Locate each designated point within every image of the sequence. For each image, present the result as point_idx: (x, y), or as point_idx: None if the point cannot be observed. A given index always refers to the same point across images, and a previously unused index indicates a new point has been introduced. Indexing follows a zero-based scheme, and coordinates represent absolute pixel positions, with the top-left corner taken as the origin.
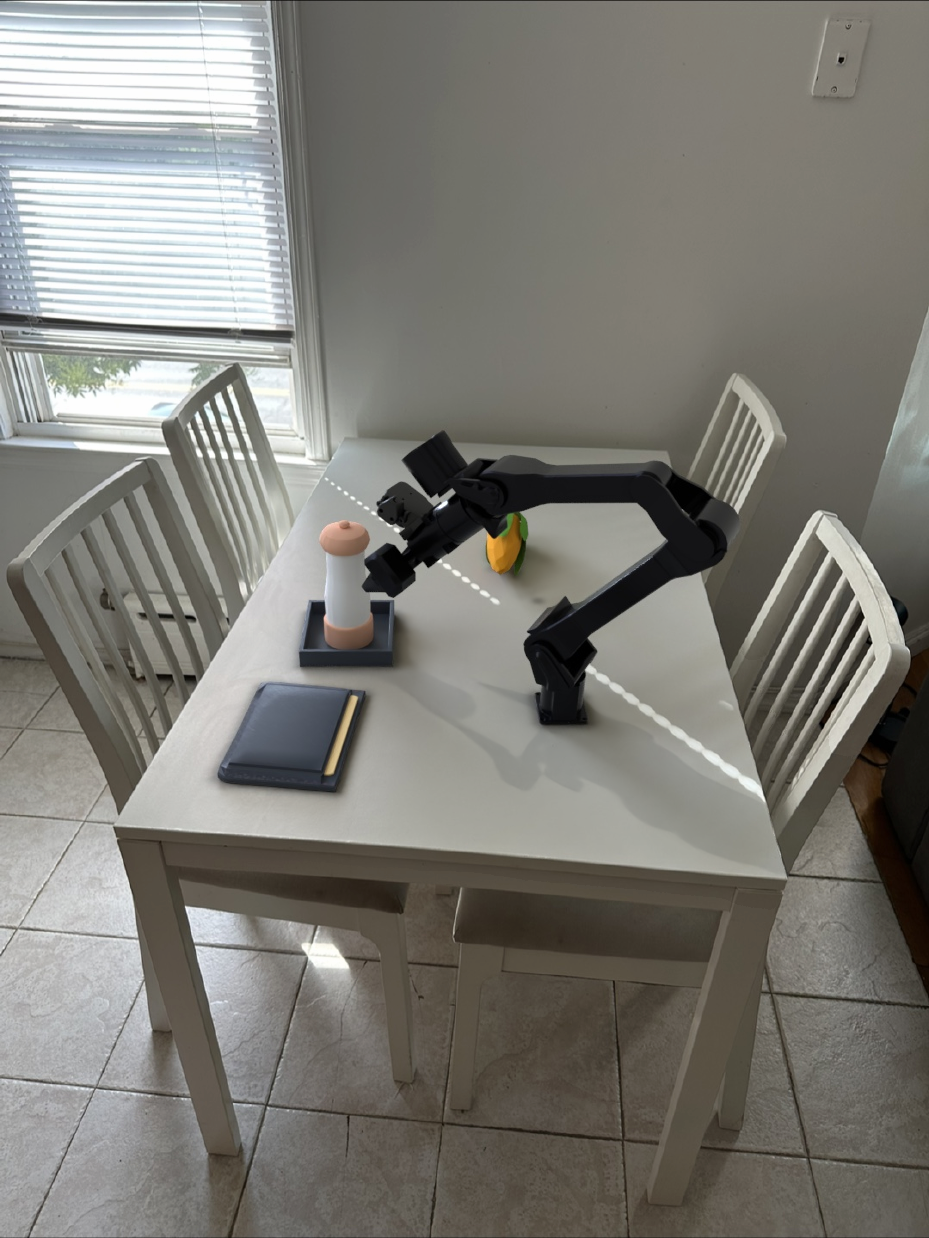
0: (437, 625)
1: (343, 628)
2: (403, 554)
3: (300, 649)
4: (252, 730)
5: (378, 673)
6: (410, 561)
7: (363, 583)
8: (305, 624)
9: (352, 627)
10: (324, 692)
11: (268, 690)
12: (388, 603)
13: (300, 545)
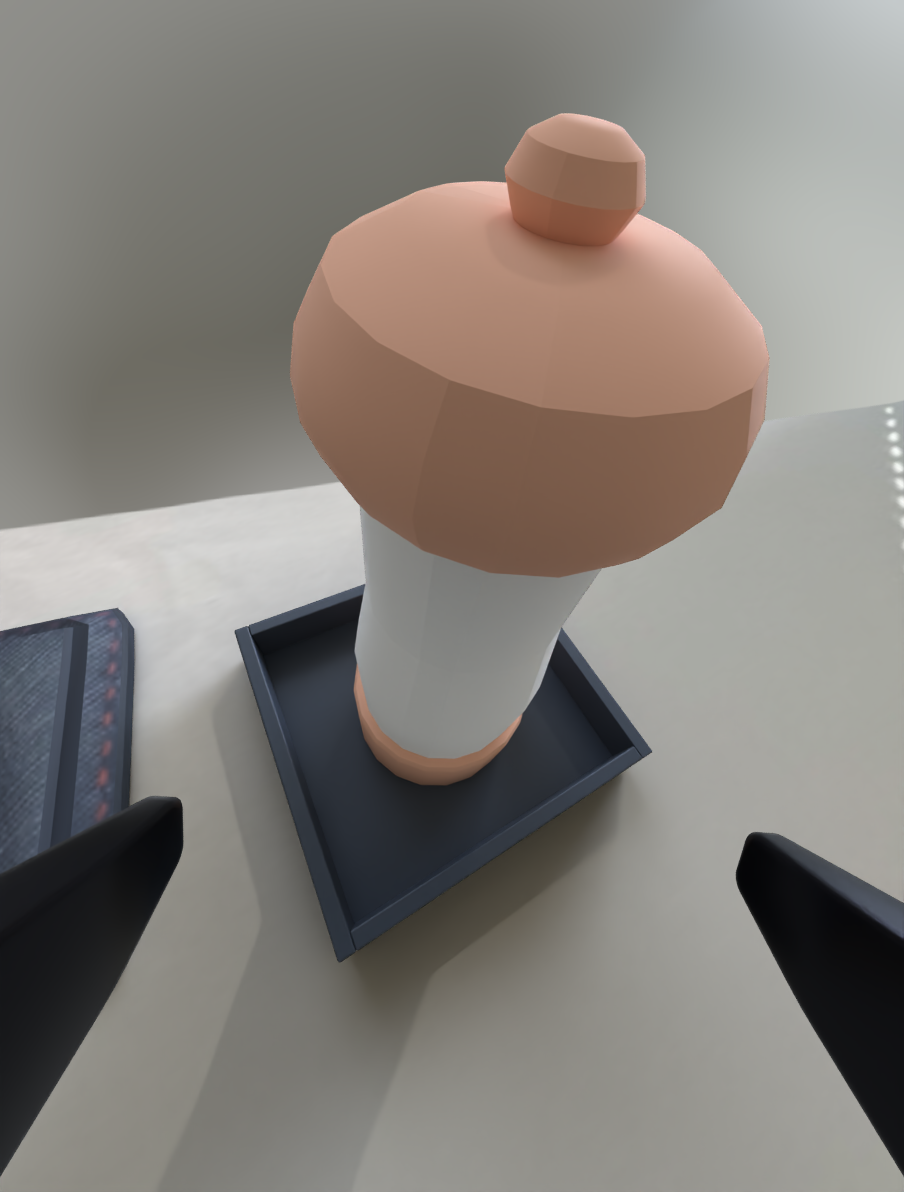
0: (675, 963)
1: (364, 701)
2: (834, 917)
3: (246, 629)
4: None
5: (283, 919)
6: (820, 1022)
7: (82, 833)
8: None
9: (379, 729)
10: (8, 831)
11: (25, 648)
12: (627, 740)
13: None
